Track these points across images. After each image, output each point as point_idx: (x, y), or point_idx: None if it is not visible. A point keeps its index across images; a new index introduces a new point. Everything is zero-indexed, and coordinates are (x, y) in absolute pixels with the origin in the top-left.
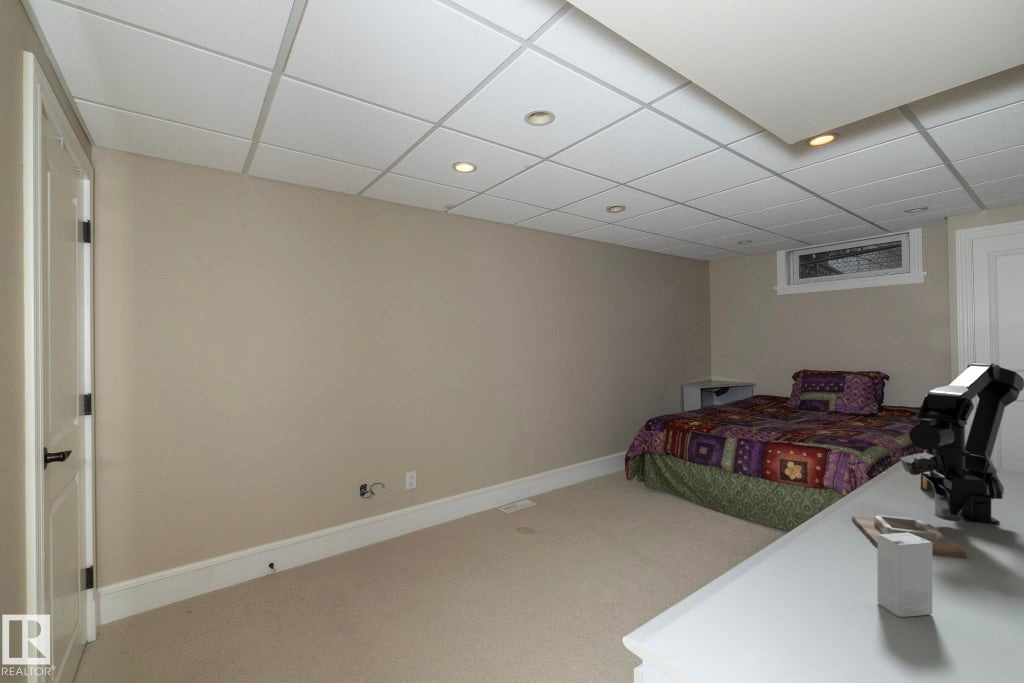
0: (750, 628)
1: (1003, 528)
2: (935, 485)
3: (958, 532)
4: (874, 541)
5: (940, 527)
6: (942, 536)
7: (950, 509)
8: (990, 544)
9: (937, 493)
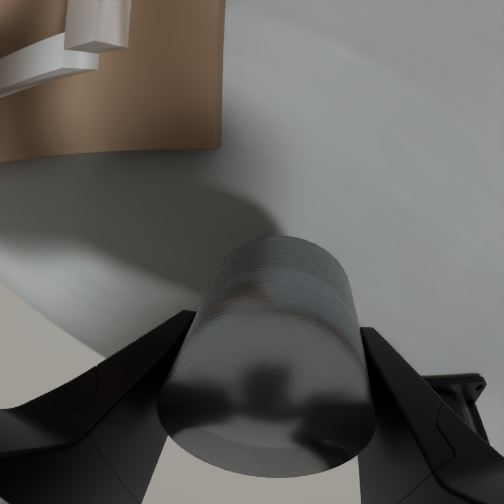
0: None
1: None
2: (427, 477)
3: (213, 276)
4: None
5: (267, 224)
6: (45, 144)
7: (158, 326)
8: (114, 317)
9: (358, 405)
